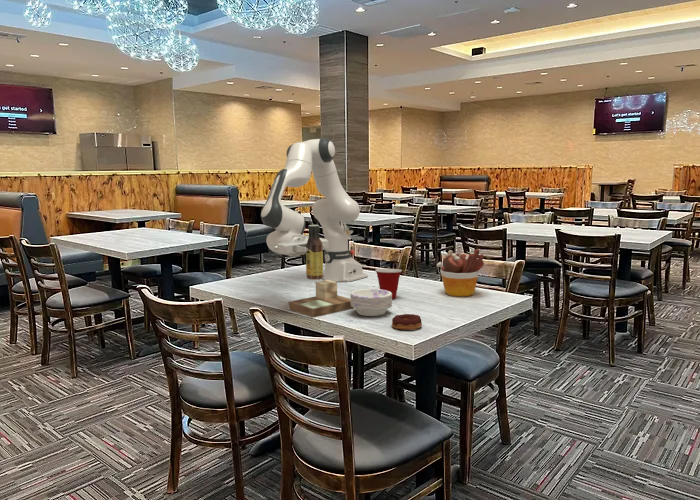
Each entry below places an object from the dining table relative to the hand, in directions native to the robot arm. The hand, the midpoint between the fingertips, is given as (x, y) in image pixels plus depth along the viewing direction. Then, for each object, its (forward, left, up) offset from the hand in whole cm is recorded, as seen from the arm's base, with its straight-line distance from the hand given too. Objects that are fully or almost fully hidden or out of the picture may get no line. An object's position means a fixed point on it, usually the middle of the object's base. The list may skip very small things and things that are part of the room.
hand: (315, 248), depth 195 cm
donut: (-11, +35, -24) cm, 44 cm away
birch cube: (-10, -8, -21) cm, 25 cm away
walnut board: (-5, -4, -24) cm, 25 cm away
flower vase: (-62, -67, -24) cm, 94 cm away
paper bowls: (-14, +14, -24) cm, 32 cm away
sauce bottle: (0, -1, -11) cm, 12 cm away
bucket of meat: (-61, +17, -24) cm, 68 cm away
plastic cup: (-35, +1, -24) cm, 43 cm away
